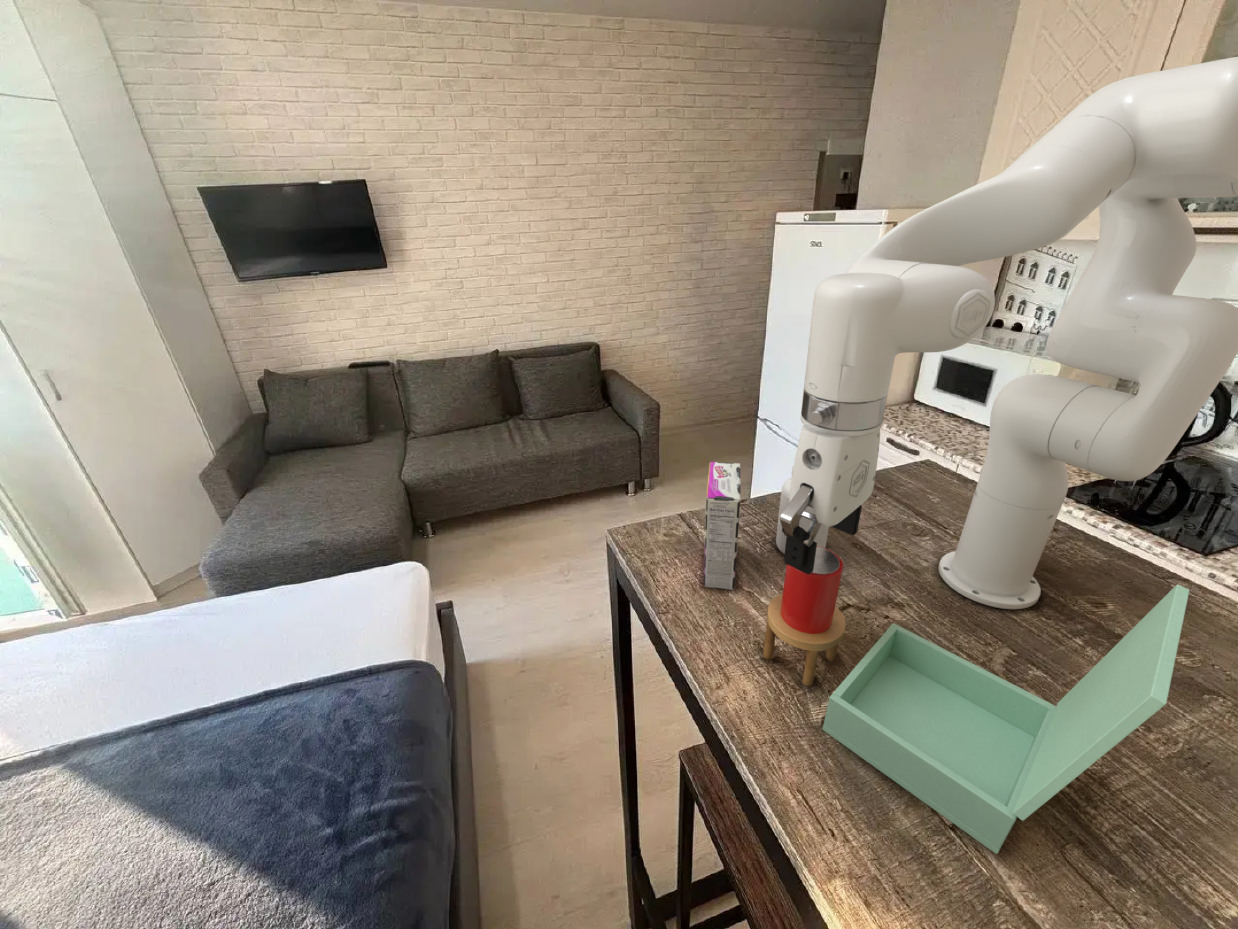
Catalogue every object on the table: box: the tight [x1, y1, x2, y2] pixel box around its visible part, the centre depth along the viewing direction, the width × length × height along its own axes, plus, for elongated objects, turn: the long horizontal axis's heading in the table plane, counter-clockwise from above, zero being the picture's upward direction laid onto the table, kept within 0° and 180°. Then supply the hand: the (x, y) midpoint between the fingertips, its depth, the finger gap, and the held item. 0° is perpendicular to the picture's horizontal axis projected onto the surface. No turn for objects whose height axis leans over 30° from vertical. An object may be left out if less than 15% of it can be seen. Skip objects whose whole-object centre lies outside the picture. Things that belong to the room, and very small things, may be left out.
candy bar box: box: [703, 461, 742, 591], centre depth 78 cm, size 11×5×16 cm, turn 168°
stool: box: [762, 592, 846, 687], centre depth 64 cm, size 9×9×7 cm
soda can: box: [780, 546, 844, 634], centre depth 60 cm, size 6×6×9 cm
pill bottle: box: [775, 465, 830, 555], centre depth 83 cm, size 8×8×15 cm
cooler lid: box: [1013, 584, 1190, 822], centre depth 42 cm, size 18×16×1 cm
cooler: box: [822, 622, 1057, 855], centre depth 54 cm, size 17×16×5 cm
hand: (821, 547), depth 58 cm, fingers open, 9 cm apart
